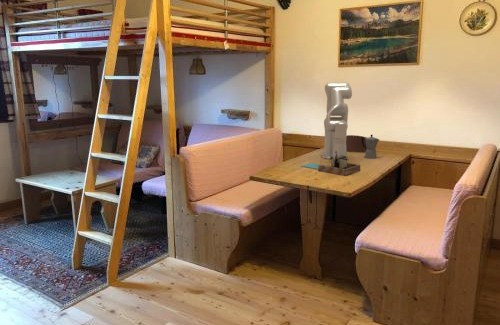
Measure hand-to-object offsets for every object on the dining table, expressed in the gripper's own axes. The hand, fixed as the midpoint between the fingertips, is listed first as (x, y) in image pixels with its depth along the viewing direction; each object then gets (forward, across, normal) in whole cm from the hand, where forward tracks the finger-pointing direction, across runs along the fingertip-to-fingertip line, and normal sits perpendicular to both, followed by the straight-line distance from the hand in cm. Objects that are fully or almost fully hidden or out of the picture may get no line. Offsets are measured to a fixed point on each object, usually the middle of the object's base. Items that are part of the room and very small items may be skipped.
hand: (339, 166), depth 274 cm
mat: (+3, 0, -20) cm, 20 cm away
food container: (+3, 0, 0) cm, 3 cm away
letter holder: (+3, -70, -29) cm, 75 cm away
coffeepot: (+3, -53, -6) cm, 54 cm away
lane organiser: (+3, 0, -1) cm, 3 cm away
